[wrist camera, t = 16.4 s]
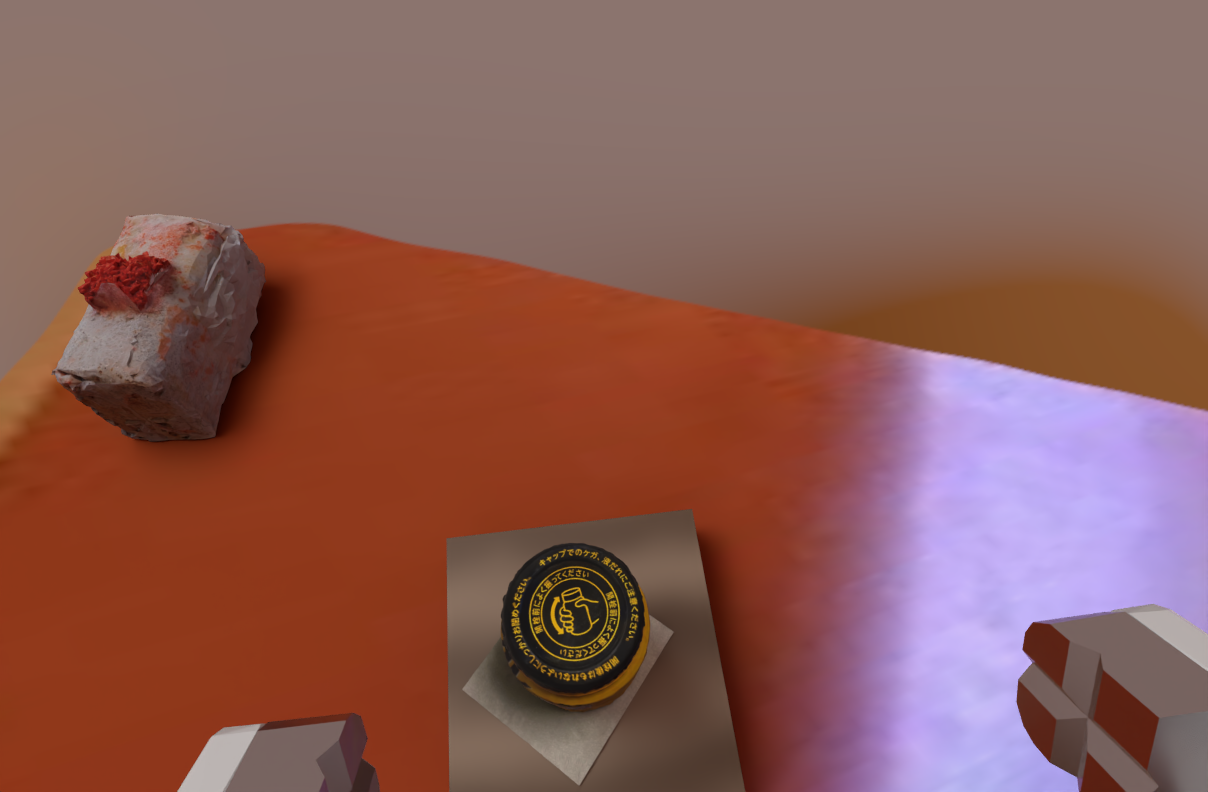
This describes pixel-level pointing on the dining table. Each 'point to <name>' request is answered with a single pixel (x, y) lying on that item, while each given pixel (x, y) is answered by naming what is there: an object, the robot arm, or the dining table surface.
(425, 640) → the dining table surface
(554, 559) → the condiment
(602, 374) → the dining table surface
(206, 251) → the food item
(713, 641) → the base
